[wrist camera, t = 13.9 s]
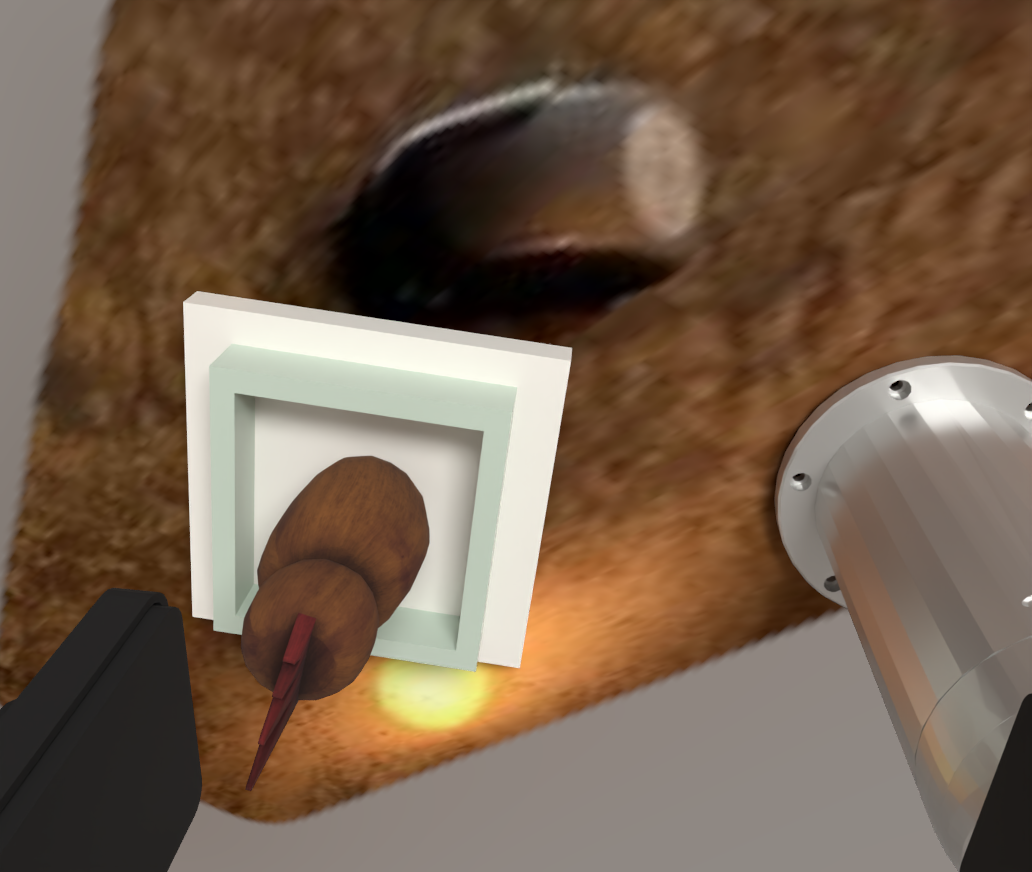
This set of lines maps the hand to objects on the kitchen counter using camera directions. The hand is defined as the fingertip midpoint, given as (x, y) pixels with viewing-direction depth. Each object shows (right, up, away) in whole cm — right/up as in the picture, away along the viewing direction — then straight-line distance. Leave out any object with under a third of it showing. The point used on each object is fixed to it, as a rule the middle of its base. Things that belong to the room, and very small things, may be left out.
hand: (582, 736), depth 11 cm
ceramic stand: (-7, +1, +33) cm, 34 cm away
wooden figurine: (-7, +1, +31) cm, 32 cm away
